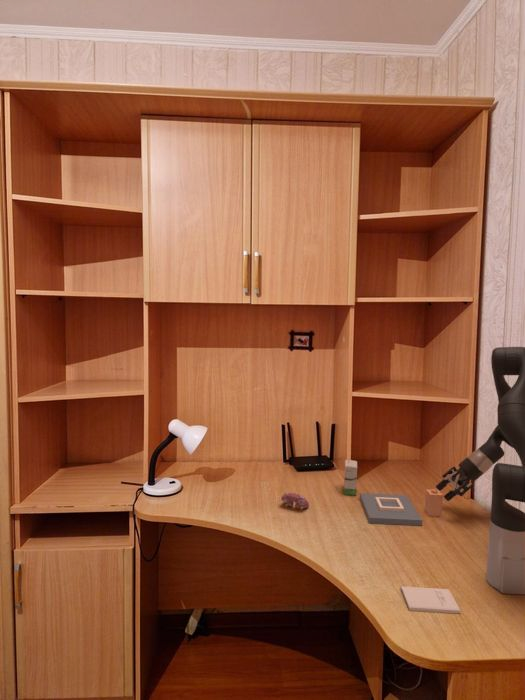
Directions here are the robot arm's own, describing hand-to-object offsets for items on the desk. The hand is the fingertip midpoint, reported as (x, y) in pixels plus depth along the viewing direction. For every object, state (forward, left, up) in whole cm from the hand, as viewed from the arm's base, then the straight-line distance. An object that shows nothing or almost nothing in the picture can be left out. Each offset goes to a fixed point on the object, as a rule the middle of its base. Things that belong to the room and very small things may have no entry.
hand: (441, 493), depth 156 cm
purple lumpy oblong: (0, +53, -8) cm, 54 cm away
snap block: (0, +3, -7) cm, 8 cm away
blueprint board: (0, +19, -7) cm, 20 cm away
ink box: (+16, +31, -8) cm, 35 cm away
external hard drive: (-49, +20, -8) cm, 53 cm away
